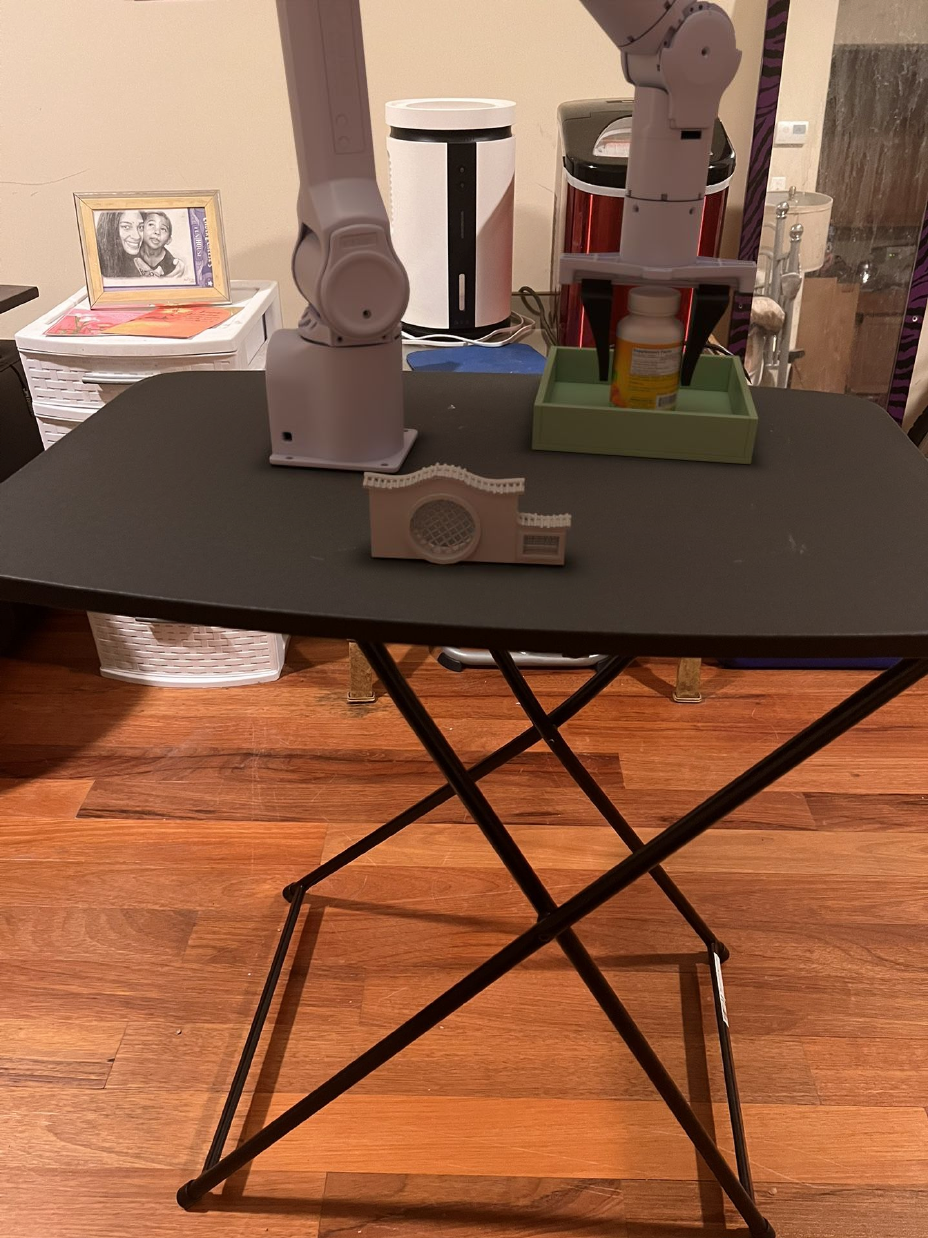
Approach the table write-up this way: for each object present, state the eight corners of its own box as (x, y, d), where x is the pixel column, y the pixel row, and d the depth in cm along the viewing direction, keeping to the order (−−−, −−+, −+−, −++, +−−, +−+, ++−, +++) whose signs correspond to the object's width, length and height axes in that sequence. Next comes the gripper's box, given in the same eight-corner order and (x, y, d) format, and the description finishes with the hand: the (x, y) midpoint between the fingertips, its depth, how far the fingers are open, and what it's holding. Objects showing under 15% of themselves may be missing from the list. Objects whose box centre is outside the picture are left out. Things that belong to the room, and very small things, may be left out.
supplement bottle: (610, 401, 82) (621, 281, 77) (675, 405, 81) (690, 285, 76) (605, 422, 77) (617, 297, 72) (674, 427, 77) (690, 301, 72)
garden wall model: (567, 556, 59) (574, 464, 56) (568, 570, 57) (575, 476, 54) (370, 548, 59) (366, 456, 56) (365, 561, 58) (361, 468, 55)
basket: (531, 449, 74) (533, 404, 72) (548, 384, 87) (551, 345, 85) (750, 464, 72) (758, 418, 70) (733, 395, 85) (739, 355, 83)
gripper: (560, 200, 68) (549, 389, 75) (773, 207, 66) (741, 401, 73) (567, 187, 74) (556, 363, 81) (762, 193, 72) (733, 373, 79)
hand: (644, 379), depth 78 cm, fingers open, 6 cm apart
